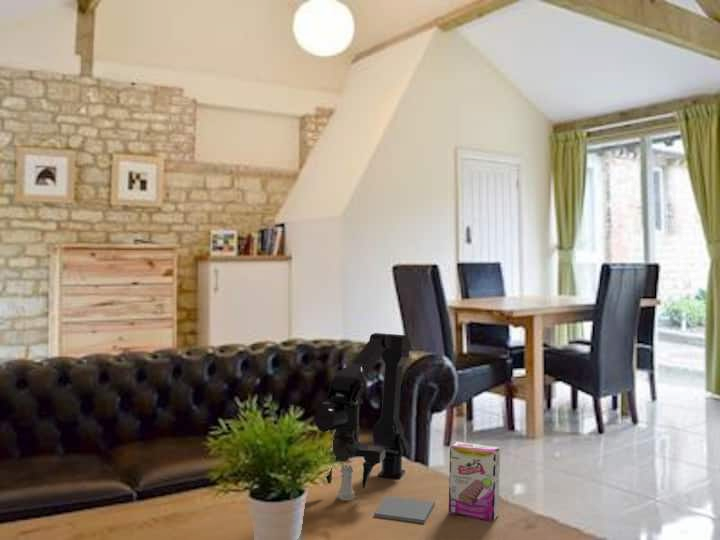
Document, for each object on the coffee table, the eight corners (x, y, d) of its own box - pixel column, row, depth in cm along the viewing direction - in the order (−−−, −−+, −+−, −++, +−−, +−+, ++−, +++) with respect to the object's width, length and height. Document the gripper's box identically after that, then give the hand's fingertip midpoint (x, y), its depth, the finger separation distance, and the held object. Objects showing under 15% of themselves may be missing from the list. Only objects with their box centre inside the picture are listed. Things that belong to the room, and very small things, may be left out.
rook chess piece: (356, 495, 161) (356, 464, 161) (354, 502, 156) (354, 469, 156) (338, 494, 161) (339, 463, 161) (336, 501, 157) (336, 469, 157)
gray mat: (387, 499, 159) (387, 495, 159) (434, 505, 155) (434, 501, 155) (374, 516, 147) (374, 513, 147) (424, 523, 144) (424, 520, 144)
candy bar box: (447, 514, 149) (448, 445, 149) (453, 507, 154) (454, 440, 154) (494, 523, 144) (495, 451, 144) (499, 515, 149) (500, 446, 149)
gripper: (300, 427, 154) (299, 491, 154) (373, 435, 148) (372, 501, 148) (317, 418, 165) (316, 477, 165) (386, 424, 159) (385, 485, 159)
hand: (346, 485), depth 159 cm, fingers open, 9 cm apart
